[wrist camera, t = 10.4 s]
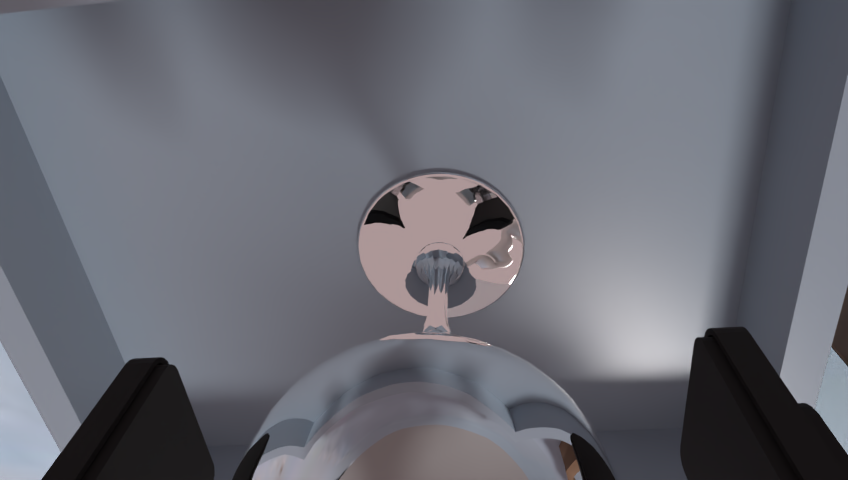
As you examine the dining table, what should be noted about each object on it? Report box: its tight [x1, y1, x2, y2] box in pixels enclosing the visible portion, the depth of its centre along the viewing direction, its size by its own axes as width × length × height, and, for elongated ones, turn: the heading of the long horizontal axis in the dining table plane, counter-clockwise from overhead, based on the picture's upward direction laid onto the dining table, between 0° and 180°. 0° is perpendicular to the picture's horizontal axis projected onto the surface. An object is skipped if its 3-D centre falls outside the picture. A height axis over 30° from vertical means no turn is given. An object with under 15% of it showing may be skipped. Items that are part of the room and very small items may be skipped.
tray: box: [0, 0, 848, 480], centre depth 16 cm, size 16×20×4 cm
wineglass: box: [232, 172, 619, 480], centre depth 11 cm, size 6×6×12 cm
